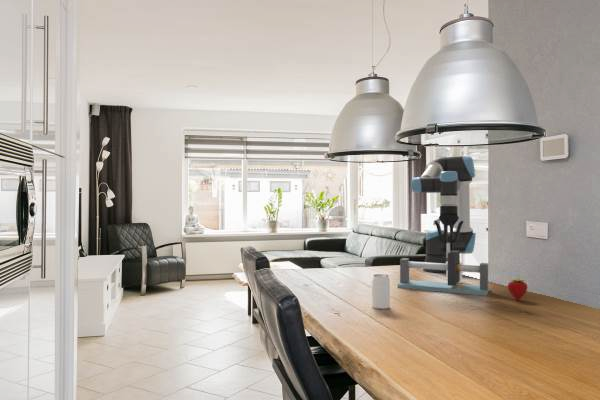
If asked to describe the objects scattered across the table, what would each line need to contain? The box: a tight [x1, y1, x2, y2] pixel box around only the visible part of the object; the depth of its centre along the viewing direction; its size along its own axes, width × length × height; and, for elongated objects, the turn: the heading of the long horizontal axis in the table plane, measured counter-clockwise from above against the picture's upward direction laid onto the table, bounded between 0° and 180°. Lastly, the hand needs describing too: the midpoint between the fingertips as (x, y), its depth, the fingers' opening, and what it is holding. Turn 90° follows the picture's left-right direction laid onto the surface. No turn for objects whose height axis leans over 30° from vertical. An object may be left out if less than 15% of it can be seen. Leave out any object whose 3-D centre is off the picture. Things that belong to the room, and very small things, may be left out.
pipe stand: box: [397, 257, 490, 296], centre depth 206 cm, size 38×14×12 cm, turn 62°
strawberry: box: [507, 274, 528, 301], centre depth 182 cm, size 6×8×10 cm
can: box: [371, 273, 391, 310], centre depth 170 cm, size 6×6×12 cm
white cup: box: [445, 261, 464, 284], centre depth 222 cm, size 8×8×10 cm
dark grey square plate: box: [447, 250, 461, 286], centre depth 203 cm, size 3×14×14 cm, turn 152°
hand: (448, 257), depth 204 cm, fingers closed
